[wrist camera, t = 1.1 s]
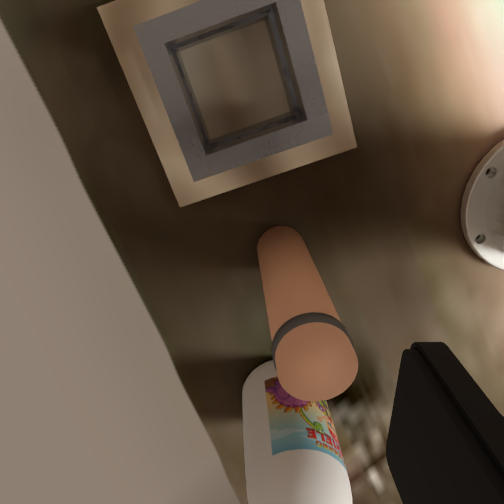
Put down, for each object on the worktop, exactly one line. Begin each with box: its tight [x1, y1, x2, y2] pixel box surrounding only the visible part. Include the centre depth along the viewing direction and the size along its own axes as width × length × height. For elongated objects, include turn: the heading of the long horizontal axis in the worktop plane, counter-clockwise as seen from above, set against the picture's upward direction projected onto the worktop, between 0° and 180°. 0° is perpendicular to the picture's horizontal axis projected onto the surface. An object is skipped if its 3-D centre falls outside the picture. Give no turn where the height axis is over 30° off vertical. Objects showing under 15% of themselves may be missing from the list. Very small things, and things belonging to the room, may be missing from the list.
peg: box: [257, 226, 358, 401], centre depth 28 cm, size 4×4×16 cm
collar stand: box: [97, 0, 357, 207], centre depth 26 cm, size 14×14×8 cm
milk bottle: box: [242, 360, 352, 504], centre depth 32 cm, size 8×8×20 cm
